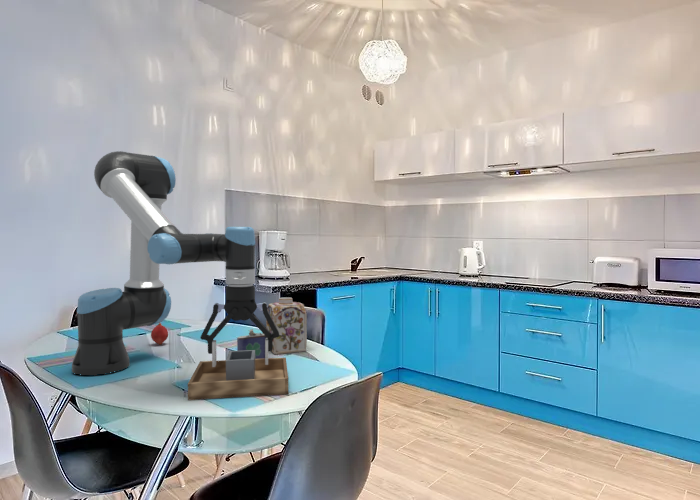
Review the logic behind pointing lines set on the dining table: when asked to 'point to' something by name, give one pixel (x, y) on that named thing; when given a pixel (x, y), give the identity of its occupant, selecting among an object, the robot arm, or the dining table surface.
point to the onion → (159, 334)
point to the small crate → (240, 365)
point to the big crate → (214, 384)
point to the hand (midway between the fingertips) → (240, 364)
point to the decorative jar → (288, 326)
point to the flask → (252, 344)
